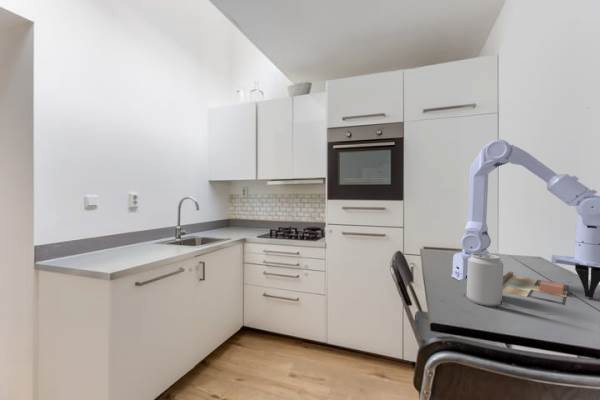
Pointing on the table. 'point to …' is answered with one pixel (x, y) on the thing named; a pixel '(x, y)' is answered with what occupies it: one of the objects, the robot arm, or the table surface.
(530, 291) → the trap board
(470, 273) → the can
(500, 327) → the table surface
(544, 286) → the tile block
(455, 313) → the table surface
